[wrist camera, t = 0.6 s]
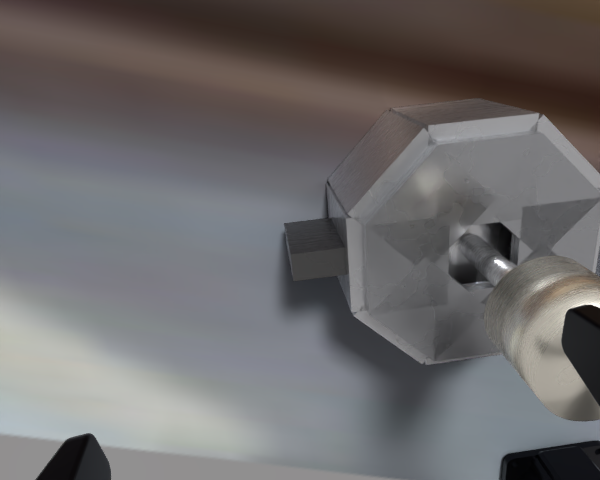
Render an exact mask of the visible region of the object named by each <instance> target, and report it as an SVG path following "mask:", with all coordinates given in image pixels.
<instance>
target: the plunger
mask: <svg viewBox="0 0 600 480" xmlns="http://www.w3.org/2000/svg"><path fill="white" fill-rule="evenodd" d="M511 240H512V233H511V232H510V231H509V230H507V229H506V228H505V227H504V226H503V225H502V224H501V223H500V222H496V223H488V224H480V225H472V226H470V227H469V228H468V229H467V230H466V231H465V232H464V233H463V234H462V235H461V236H460V237H459V238H458V239H457V241H456V242H455V243H454V244H453V245H452V246H451V247H450V248H449V270H448V273H449V274H450V275H451V276H452V277H454V278H455V279H456V280H457V281H459V282H460V283H461V284H466V283H474V282H481V281H490V282H491V283H492V284H493V285H494V286H495V287H494V289H493V290H492V292H491V294H490V295H489V298H488V300H487V303H486V306H485V311H484V324H485V329H486V332H487V334H488V336H489V338H490V340H491V341H492V342H493V343H494V345H495V346H496V347H497V348H498V349H499V351H500V352H501V353H502V354H503V356H504V357H505V358H506V359H507V360H508V362H509V363H510V364H511V365H512V367H513V368H514V369H515V370H516V371H517V373H518V374H519V375H520V376H521V378H522V379H523V380H524V381H525V382H526V384H527V385H528V386H529V387H530V389H531V390H532V391H533V392H534V393H535V395H536V396H537V397H538V398H539V399H540V401H541V402H542V403H543V404H544V406H545V407H546V408H547V409H548V410H549V411H551V412H552V413H553V414H555V415H557V416H559V417H561V418H564V419H568V420H573V421H593V420H599V419H600V406H599V405H598V403H597V402H596V400H595V399H594V397H593V396H592V394H591V393H590V391H589V390H588V388H587V387H586V385H585V384H584V382H583V380H582V379H581V377H580V376H579V374H578V373H577V371H576V370H575V368H574V367H573V365H572V364H571V362H570V361H569V359H568V358H567V356H566V354H565V353H564V351H563V348H562V343H561V338H562V332H563V326H564V319H565V314H566V312H567V311H568V310H569V309H570V308H574V307H578V306H582V305H588V304H589V305H593V306H596V307H599V308H600V277H599V276H598V275H596V274H595V273H593V272H592V271H590V270H589V269H587V268H586V267H584V266H583V265H581V264H580V263H578V262H577V261H575V260H573V259H570V258H567V257H563V256H554V255H552V256H542V257H537V258H534V259H531V260H528V261H526V262H524V263H522V264H520V265H518V266H516V267H515V266H514V265H513V264H512V263H511V262H509V260H510V252H511Z"/></svg>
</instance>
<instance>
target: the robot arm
mask: <svg viewBox="0 0 600 480" xmlns="http://www.w3.org/2000/svg"><path fill="white" fill-rule="evenodd" d="M561 343H562V348H563V351H564V353H565V354H566V356H567V358H568V359H569V361H570V362H571V364H572V365H573V367H574V368H575V370H576V371H577V373H578V374H579V376H580V377H581V379H582V380H583V382H584V384H585V385H586V387H587V388H588V390H589V391H590V393H591V394H592V396H593V397H594V399H595V400H596V402H597V403H598V405H599V406H600V308H599V307H596V306H593V305H589V304H588V305H582V306H578V307H574V308H570V309H569V310H568V311H567V312H566V314H565V319H564V326H563V332H562V338H561ZM36 480H111V469H110V465H109V462H108V460H107V458H106V456H105V454H104V452H103V450H102V449H101V447H100V445H99V443H98V441H97V440H96V438H95V437H94V435H92V434H90V433H87V434H83V435H79V436H75V437H72V438H69V439H67V440H66V441H65V442H64V443H63V444H62V445H61V447H60V448H59V449H58V451H57V452H56V453H55V455H54V456H53V457H52V459H51V460H50V461H49V463H48V464H47V465H46V466H45V468H44V469H43V470H42V472H41V473H40V474H39V476H38V477H37V478H36ZM502 480H600V441H590V442H584V443H577V444H571V445H564V446H558V447H551V448H545V449H538V450H532V451H525V452H519V453H512V454H509V455H507V456H506V457H505V458H504V462H503V473H502Z"/></svg>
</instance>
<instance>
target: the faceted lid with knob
mask: <svg viewBox="0 0 600 480" xmlns="http://www.w3.org/2000/svg"><path fill="white" fill-rule="evenodd" d="M327 180H328V181H329V183H326V189H327V203H328V217H329V218H325V219H316V220H308V221H300V222H292V223H284V227H285V236H286V245H287V251H288V256H289V261H290V266H291V271H292V276H293V281H300V280H308V279H315V278H323V277H331V276H337V277H338V279H339V282H340V284H341V287H342V289H343V292H344V295H345V297H346V300H347V302H348V305H349V307H350V310H351V313H352V314H353V316H354V317H356V318H357V319H358V320H360V321H361V322H363V323H364V324H366V325H367V326H368V327H370V328H371V329H373V330H374V331H375V332H377V333H378V334H380V335H381V336H383V337H384V338H385V339H387V340H388V341H390V342H391V343H392V344H394V345H395V346H397V347H398V348H400V349H401V350H402V351H404V352H405V353H407V354H408V355H409V356H411V357H412V358H414V359H415V360H417V361H418V362H419V363H421V364H423V363H425V364H426V365H430V364H438V363H445V362H452V361H459V360H466V359H473V358H480V357H487V356H494V355H501V354H502V353H501V352H500V351H499V349H498V348H497V347H496V346H495V345H494V343H493V342H492V341H491V340H490V338H489V336H488V334H487V332H486V329H485V324H484V311H485V306H486V303H487V300H488V298H489V295H490V294H491V292H492V290H493V289H494V287H495V286H494V285H493V284H492V283H491V282H490V281H481V282H474V283H466V284H461V283H460V282H459V281H457V280H456V279H455V278H454V277H452V276H451V275H450V274H449V273H448V270H449V248H450V247H451V246H452V245H453V244H454V243H455V242H456V241H457V239H458V238H459V237H460V236H461V235H462V234H463V233H464V232H465V231H466V230H467V229H468V228H469V227H470V226H472V225H480V224H488V223H496V222H500V223H501V224H502V225H503V226H504V227H505V228H506V229H507V230H509V231H510V232H511V233H512V240H511V252H510V260H509V262H511V263H512V264H513V265H514V266H515V267H516V266H518V265H520V264H522V263H524V262H526V261H528V260H531V259H534V258H537V257H542V256H552V255H554V256H563V257H567V258H570V259H573V260H575V261H577V262H578V263H580V264H581V265H583V266H584V267H586V268H587V269H589V270H590V271H592V272H593V273H595V272H596V265H597V259H598V253H599V247H600V174H599V173H598V172H597V171H596V170H595V169H594V168H593V166H592V165H591V164H590V163H589V162H588V161H587V160H586V159H585V158H584V157H583V156H582V155H581V154H580V153H579V152H578V151H577V150H576V148H575V147H574V146H573V145H572V144H571V143H570V142H569V141H568V140H567V139H566V138H565V137H564V136H563V135H562V134H561V133H560V132H559V130H558V129H557V128H556V127H555V126H554V125H553V124H552V123H551V122H550V121H549V120H548V119H547V118H546V117H545V116H544V115H543V114H539V113H536V112H532V111H528V110H524V109H520V108H516V107H512V106H508V105H504V104H500V103H496V102H492V101H487V100H483V99H479V98H477V99H467V100H458V101H449V102H440V103H430V104H421V105H412V106H403V107H393V108H390V111H388V110H386V111H385V112H384V113H383V115H382V116H381V117H380V118H379V119H378V120H377V122H376V123H375V124H374V125H373V126H372V128H371V129H370V130H369V131H368V132H367V133H366V135H365V136H364V137H363V138H362V139H361V140H360V142H359V143H358V144H357V145H356V146H355V148H354V149H353V150H352V151H351V152H350V153H349V155H348V156H347V157H346V158H345V159H344V160H343V162H342V163H341V164H340V165H339V166H338V168H337V169H336V170H335V171H334V172H333V173H332V175H331V176H330V177H329V178H328V179H327Z"/></svg>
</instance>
